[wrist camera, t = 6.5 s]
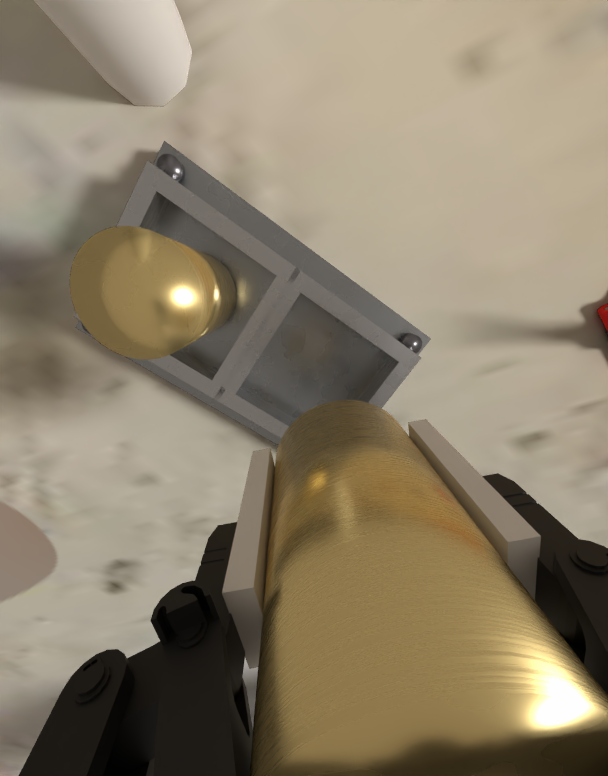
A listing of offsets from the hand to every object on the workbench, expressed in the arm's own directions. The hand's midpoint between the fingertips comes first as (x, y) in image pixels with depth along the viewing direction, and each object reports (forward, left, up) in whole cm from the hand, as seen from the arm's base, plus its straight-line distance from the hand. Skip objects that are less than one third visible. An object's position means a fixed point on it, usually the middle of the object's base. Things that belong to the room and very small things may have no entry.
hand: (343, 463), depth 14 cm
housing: (0, +6, -16) cm, 17 cm away
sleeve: (0, 0, 0) cm, 0 cm away
